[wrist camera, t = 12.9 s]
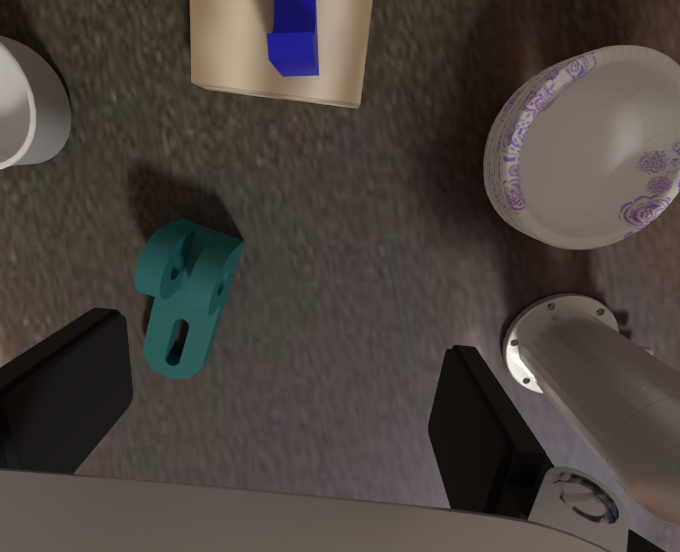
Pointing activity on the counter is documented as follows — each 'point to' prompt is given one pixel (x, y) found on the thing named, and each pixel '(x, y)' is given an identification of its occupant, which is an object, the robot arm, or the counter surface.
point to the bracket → (185, 292)
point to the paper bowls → (588, 148)
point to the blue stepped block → (294, 38)
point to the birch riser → (252, 51)
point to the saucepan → (30, 107)
